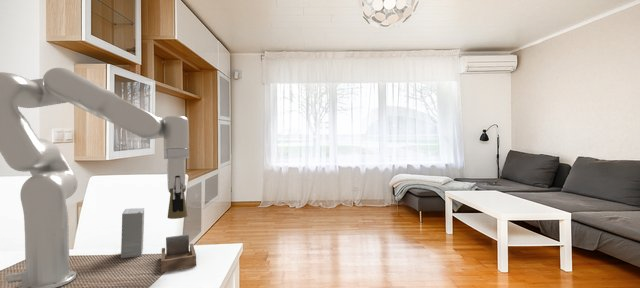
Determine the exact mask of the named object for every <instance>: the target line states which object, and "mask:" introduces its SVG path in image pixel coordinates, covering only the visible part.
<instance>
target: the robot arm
mask: <svg viewBox="0 0 640 288" xmlns="http://www.w3.org/2000/svg"><path fill="white" fill-rule="evenodd" d="M66 103H69V104H71V105H73V106H75V107H77V108H79V109H81V110H83V111H85V112H87V113H89V114H91V115H93V116H95V117H97V118H99V119H102V120H105V121H107V122H109V123H111V124H113V125H115V126H117V127H119V128H121V129H123V130H126V131H127V132H129V133H131V134H134V135H135V136H138V138H139V137H140V138H142V139H147V140H154V139H156V140H157V139H162V138H163V160H167V161H166V162H167V164H166V167H167V168H166V169H167V170H166V172H167V191H169V190H170V189H172V188H173V200H172V211H173V212H177V211H179V212H182V211H183V196H182V189H184V188H185V186H186V159H190V132H189V131H190V130H189V128H190V126H189V119H188V118H187V117H186V116H183V115H168V116H165V117H161V116H156V115H154V114H152V113H150V112H149V111H147V110H145V109H143V108H141V107H139V106H137V105H135V104H133V103H131V102H129V101H128V100H126V99H123V98H122V97H120V96H119V95H118V94H117V93H115V92H112V91H111V90H109V89H106V88H105V87H103V86H101V85H99V84H98V83H95V82H94V81H91V80H90V79H88V78H86V77H84V76H82V75H80V74H78V73H76V72H75V71H72V70H70V69H68V68H64V67H53V68H50V69H49V70H47V71H46V72H45V73H44V75H43V76H42V78H36V79H29V78H26V77H23V76H21V75H18V74H15V73H11V72H6V71H5V72H3V71H0V155H1V156H2V158H3V159H4V161H5V163H6V164H7V165H8V166H9V167H10V168H11V169H13V170H14V171H16V172H21V173H22V172H24V173H27V172H28V173H30V175H31V176H30V177H29V178H28V179H26V181H24V182H23V184H22V186H21V189H20V194H19V195H20V196H19V197H20V201H21V206H22V207H21V208H22V211H23V221H24V223H23V225H24V255H25V257H24V258H25V259H24V260H25V261H24V262H25V270H22V271H20V272H13V273H7V274H6V275H5V281H6V282H7V283H8V284H9V283H16V282H19V284H18V286H17V287H18V288H59V287H62V286H64V285H67V284H69V283H70V282H72V281H74V280H75V279H76V278H77V272H76V271H74V270H71V269H70V234H69V233H70V231H69V230H70V229H69V228H70V227H69V212H68V211H69V210H68V206H67V201H66V200H68V199H69V198H70V197H72V196H73V195H74V194H75V193H76V191H77V189H78V180H77V177H76V175H75V173H74V171H73V170H72V168H71V166H70V165H69V163H68V161H67V159H66V158H65V156H64V155H63V153H62V151H61V150H60V149H59V147H58V146H57V145H56V144H54V143H53V142H52V141H50V140H47V139H43V138H39V137H38V135H37V134H36V133H35V132H34V129H33V128H32V126H31V124H30V122H29V121H28V119H27V118H26V117H25V115H23V114H22V112H21V111H20V110H19V108H23V109H24V108H25V109H35V108H41V107H47V106H53V105H55V106H56V105H59V104H60V105H61V104H66ZM18 107H19V108H18ZM182 185H183V187H182ZM180 187H181V189H180ZM174 188H176V190H174Z"/></svg>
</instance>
